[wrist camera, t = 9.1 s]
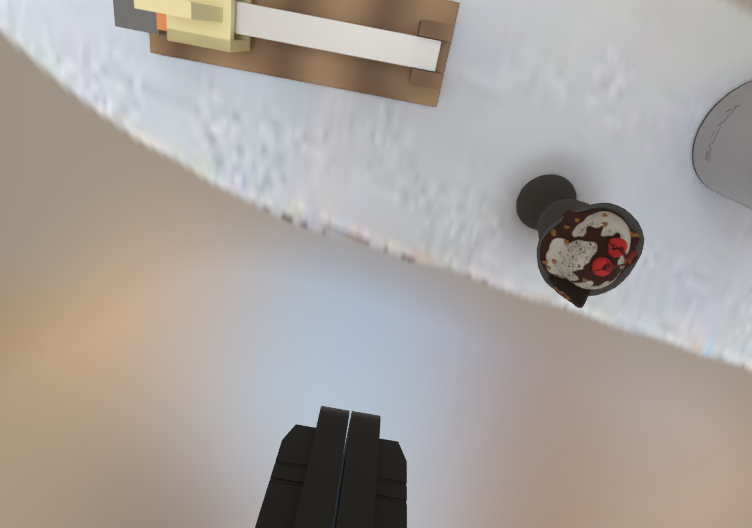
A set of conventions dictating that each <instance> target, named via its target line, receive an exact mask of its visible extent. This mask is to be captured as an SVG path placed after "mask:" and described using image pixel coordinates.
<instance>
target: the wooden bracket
mask: <svg viewBox="0 0 752 528" xmlns="http://www.w3.org/2000/svg"><path fill="white" fill-rule="evenodd" d="M252 4H253V5H258V6H263V7H268V8H273V9H279V10H284V11H289V12H294V13H299V14H304V15H309V16H315V17H320V18H325V19H330V20H335V21H340V22H345V23H351V24H356V25H361V26H366V27H371V28H376V29H381V30H387V31H392V32H397V33H402V34H407V35H412V36H417V37H423V38H428V39H433V40H438V41H441V45H440V50H439V55H438V59H437V64H436V69H435V72H434V71H429V70H424V69H419V68H414V67H408V66H403V65H398V64H393V63H388V62H382V61H377V60H372V59H367V58H362V57H356V56H351V55H346V54H341V53H336V52H330V51H325V50H320V49H315V48H310V47H304V46H299V45H294V44H289V43H284V42H278V41H273V40H268V39H263V38H258V37H252V36H250V51H246V52H225V51H220V50H215V49H210V48H204V47H199V46H194V45H189V44H184V43H178V42H173V41H168V40H167V35H162V34H154V33H150V52H151V53H155V54H161V55H166V56H171V57H176V58H182V59H187V60H192V61H197V62H203V63H208V64H213V65H218V66H224V67H229V68H234V69H239V70H245V71H250V72H255V73H260V74H266V75H271V76H276V77H281V78H287V79H292V80H297V81H302V82H308V83H313V84H318V85H323V86H329V87H334V88H339V89H344V90H350V91H355V92H360V93H365V94H371V95H376V96H381V97H386V98H392V99H397V100H402V101H407V102H413V103H418V104H423V105H428V106H434V107H437V102H438V98H439V93H440V89H441V84H442V80H443V75H444V71H445V66H446V62H447V57H448V53H449V48H450V44H451V39H452V35H453V30H454V26H455V21H456V17H457V12H458V8H459V3H458V2H453V1H448V0H252Z"/></svg>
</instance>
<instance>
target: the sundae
mask: <svg viewBox="0 0 752 528" xmlns="http://www.w3.org/2000/svg"><path fill="white" fill-rule="evenodd" d="M517 213H518V216H519V218H520V220H521V221H522V222H523V223H524V224H525V225H527V226H528V227H530V228H533V229H537V230H538V235H539V242H538V247H537V261H538V268H539V270H540V273H541V275H542V277H543V279H544V280H545V282H546V283H547V284H548V285H549V286H550V287H552V288H553V289H554V290H555V291H556V292H558V293H559V294H560V295H561V296H562V297H564V298H565V299H567V300H568V301H570V302H572V303H573V304H574V305H575V306H577V307H578V308H582V307H583V306H584V304H585V302H586V300H587V298H588V296H594V295H599V294H602V293H605V292H607V291H609V290H611V289H613V288H615V287H617V286H618V285H619V284H620V283H621V282H622V281H624V279H625V278H626V277H627V276H628V275H629V274H630V272H631V271H632V269H633V268H634V266H635V265H636V263H637V261H638V259H639V257H640V256H641V253H642V250H643V245H644V236H643V232H642V229H641V227H640V225H639V223H638V221H637V220H636V219H635V218H634V217H633V216H632V215H631V214H630V213H629V212H628V211H626V210H625V209H623V208H621V207H619V206H617V205H614V204H611V203H597V204H592V205H589V204H587V203H584V202H581V201H578V200H576V192H575V189H574V187H573V185H572V184H571V183H570V182H569V181H568V180H567V179H565V178H564V177H561V176H557V175H544V176H540V177H538V178H535V179H534V180H532V181H530V182H529V183H528V184H527V185H526V186H525V187H524V188H523V189H522V190H521V192H520V194H519V197H518V199H517Z"/></svg>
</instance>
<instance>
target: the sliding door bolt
mask: <svg viewBox="0 0 752 528" xmlns="http://www.w3.org/2000/svg"><path fill="white" fill-rule="evenodd" d="M113 4H114V16H115V26H118V27H123V28H128V29H133V30H138V31H144V32H149V33H154V34H162V35H167V22H166V14H162V13H157V12H152V11H146V10H141V9H136V8H134V0H113ZM234 33H237V34H242V35H247V36H252V37H258V38H263V39H268V40H273V41H278V42H284V43H289V44H294V45H299V46H304V47H310V48H315V49H320V50H325V51H330V52H336V53H341V54H346V55H351V56H356V57H362V58H367V59H372V60H377V61H382V62H388V63H393V64H398V65H403V66H408V67H414V68H419V69H424V70H429V71H434V72H435V69H436V64H437V59H438V55H439V50H440V45H441V41H438V40H433V39H428V38H423V37H417V36H412V35H407V34H402V33H397V32H392V31H387V30H381V29H376V28H371V27H366V26H361V25H356V24H351V23H345V22H340V21H335V20H330V19H325V18H320V17H315V16H309V15H304V14H299V13H294V12H289V11H284V10H279V9H273V8H268V7H263V6H258V5H253V4H248V3H243V2H237V1H235V27H234Z"/></svg>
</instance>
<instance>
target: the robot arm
mask: <svg viewBox="0 0 752 528" xmlns="http://www.w3.org/2000/svg"><path fill="white" fill-rule="evenodd" d="M693 160H694V167H695V170H696V173H697V175H698V177H699V178H700V179H701V181H702V182H703V183H704V184H705V185H706V186H707V187H709V188H710V189H711V190H713V191H715V192H717V193H719V194H721V195H723V196H725V197H727V198H729V199H732V200H734V201H736V202H738V203H740V204H742V205H744V206H746V207H747V208H749V209H752V81H751V82H749V83H746V84H744V85H742V86H741V87H739V88H737V89H736V90H734V91H733V92H731V93H729V94H728V95H727V96H726V97H725V98H724V99H723V100H721V101H720V102H719V103H718V104H717V105H716V106H715V107H714V109H713V110H712V111H711V112H710V113H709V114H708V116H707V117H706V119H705V121H704V122H703V124H702V126H701V127H700V129H699V132H698V135H697V137H696V140H695V144H694V150H693ZM348 419H349V411H348V410H342V409H336V408H330V407H325V406H322V407H321V409H320V414H319V418H318V422H317V427H316V428H314V427H308V426H302V425H295V426H294V427H293V428H292V429H291V431H290V432H289V433H288V434H287V435H286V436H285V438H284V439H283V440H282V443H281V446H280V449H279V452H278V455H277V458H276V463H275V465H274V469H273V471H272V475H271V479H270V481H269V484H268V488H267V491H266V494H265V498H264V501H263V504H262V507H261V510H260V513H259V517H258V520H257V523H256V526H255V528H407V504H406V500H407V487H406V483H407V471H406V470H407V462H406V459H405V457H404V454H403V452H402V450H401V447H400V445H399V443H398V442H397V441H391V440H385V439H379V434H380V416H378V415H372V414H366V413H360V412H354V411H352V413H351V418H350V423H349V428H348V433H347V438H346V432H347V426H348ZM345 439H346V443H345ZM344 446H345V448H344ZM343 452H344V453H343Z"/></svg>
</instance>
